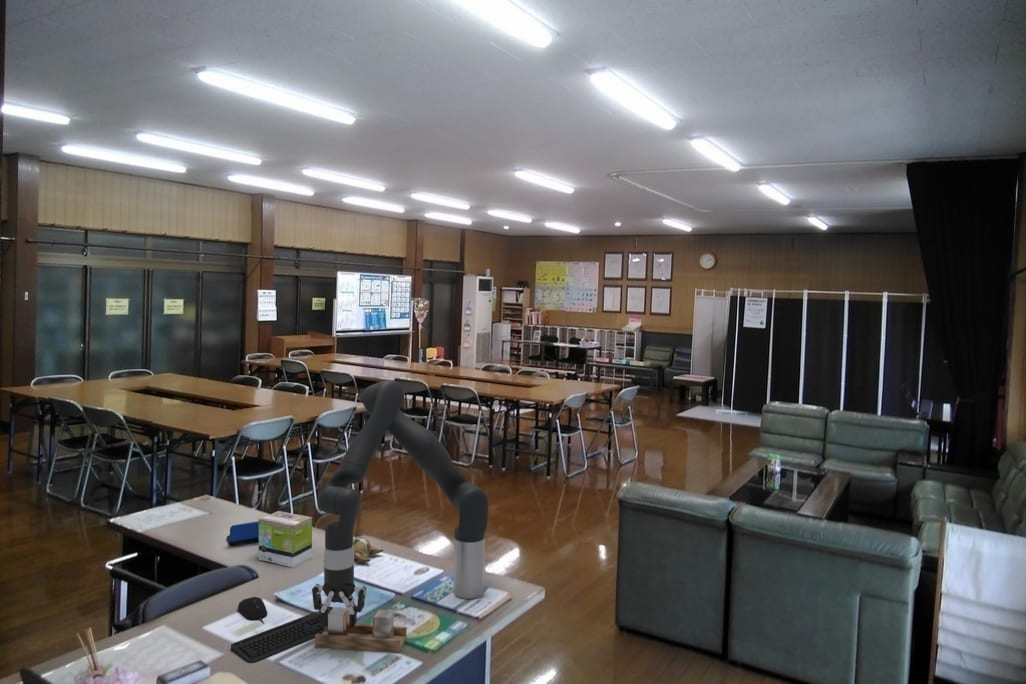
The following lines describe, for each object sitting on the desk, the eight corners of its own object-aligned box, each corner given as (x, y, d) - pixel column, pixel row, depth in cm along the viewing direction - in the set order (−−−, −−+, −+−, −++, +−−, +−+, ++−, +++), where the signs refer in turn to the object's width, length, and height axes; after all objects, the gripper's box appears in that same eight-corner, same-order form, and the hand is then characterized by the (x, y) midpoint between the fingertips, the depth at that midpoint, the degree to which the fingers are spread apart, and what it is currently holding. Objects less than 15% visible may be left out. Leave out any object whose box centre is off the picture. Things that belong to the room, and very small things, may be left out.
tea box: (257, 561, 228) (257, 518, 227) (278, 551, 237) (278, 509, 236) (293, 568, 222) (293, 524, 221) (313, 558, 231) (313, 515, 231)
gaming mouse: (252, 628, 182) (252, 613, 182) (234, 608, 194) (234, 594, 193) (275, 621, 186) (275, 607, 186) (256, 602, 198) (256, 589, 197)
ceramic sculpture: (347, 526, 238) (385, 533, 234) (346, 549, 239) (384, 557, 235) (330, 536, 228) (370, 544, 224) (329, 560, 229) (368, 569, 224)
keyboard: (250, 667, 164) (250, 659, 163) (229, 651, 171) (229, 643, 171) (353, 624, 186) (353, 617, 186) (330, 612, 193) (330, 605, 193)
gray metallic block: (333, 632, 178) (333, 607, 177) (350, 634, 177) (350, 608, 177) (328, 640, 174) (328, 614, 173) (345, 641, 173) (345, 615, 173)
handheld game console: (270, 532, 256) (270, 508, 256) (277, 543, 245) (276, 518, 244) (226, 539, 249) (225, 514, 248) (230, 551, 237) (230, 525, 236)
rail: (406, 637, 178) (406, 608, 177) (399, 652, 170) (399, 621, 170) (325, 632, 180) (325, 603, 179) (315, 647, 172) (314, 616, 172)
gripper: (370, 558, 177) (370, 620, 178) (317, 556, 179) (317, 617, 180) (361, 570, 170) (361, 634, 171) (306, 567, 171) (306, 631, 172)
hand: (339, 625), depth 175 cm, fingers open, 6 cm apart
